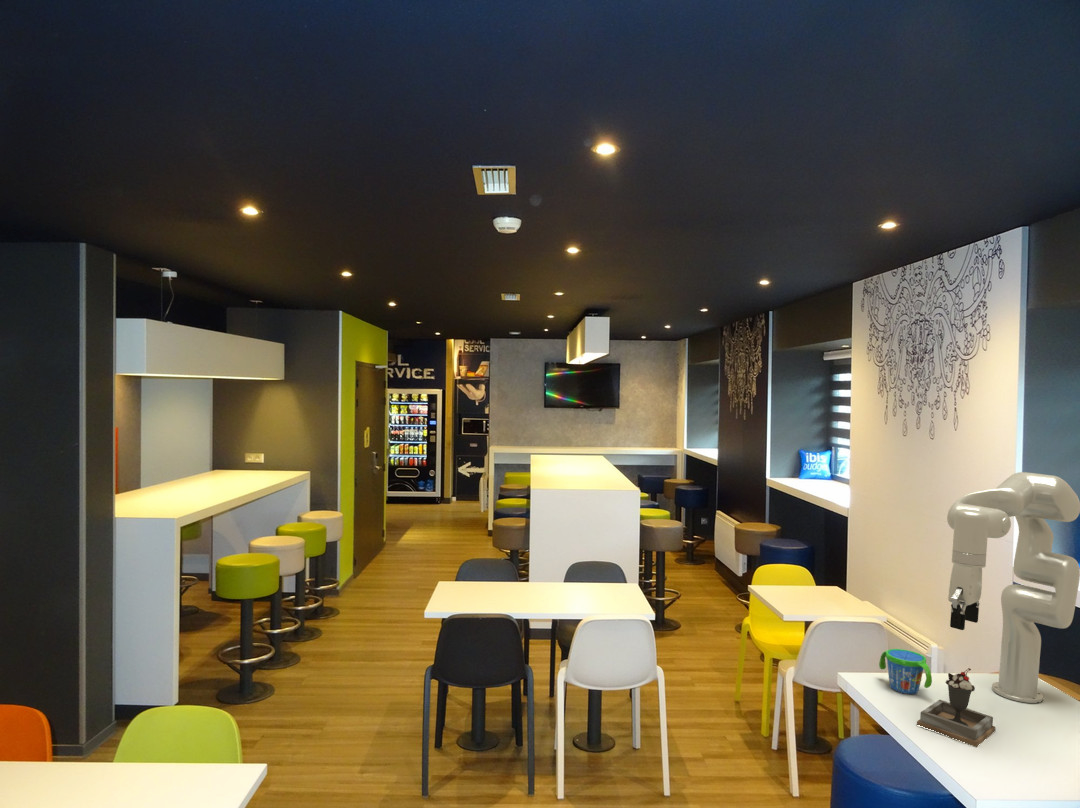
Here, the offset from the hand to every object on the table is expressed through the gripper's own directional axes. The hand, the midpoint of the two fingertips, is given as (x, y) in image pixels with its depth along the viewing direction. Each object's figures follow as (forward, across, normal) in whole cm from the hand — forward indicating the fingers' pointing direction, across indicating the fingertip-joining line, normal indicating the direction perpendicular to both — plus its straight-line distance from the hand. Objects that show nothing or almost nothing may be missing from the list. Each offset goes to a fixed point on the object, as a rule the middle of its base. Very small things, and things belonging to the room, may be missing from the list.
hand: (964, 624), depth 195 cm
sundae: (+26, 0, 0) cm, 26 cm away
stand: (+27, 0, 0) cm, 27 cm away
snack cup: (+27, -14, -19) cm, 36 cm away
